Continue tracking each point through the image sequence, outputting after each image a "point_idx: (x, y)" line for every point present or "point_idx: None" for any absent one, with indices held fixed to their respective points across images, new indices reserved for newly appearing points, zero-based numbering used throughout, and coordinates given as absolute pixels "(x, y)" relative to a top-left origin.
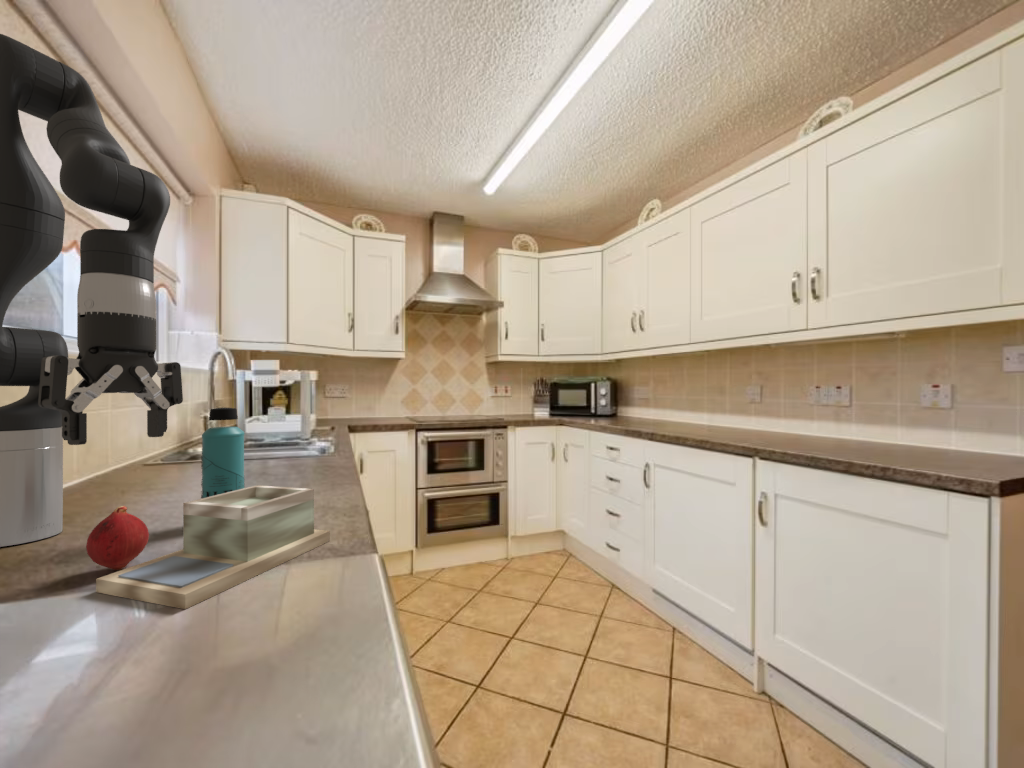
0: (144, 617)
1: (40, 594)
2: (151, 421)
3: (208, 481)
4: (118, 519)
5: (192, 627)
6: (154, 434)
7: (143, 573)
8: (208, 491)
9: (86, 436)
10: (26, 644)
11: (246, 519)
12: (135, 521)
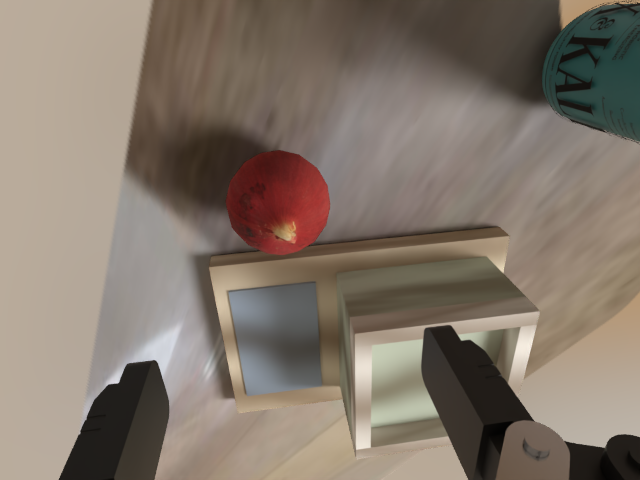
0: (206, 381)
1: (162, 181)
2: (451, 397)
3: (619, 90)
4: (270, 244)
5: (219, 434)
6: (426, 364)
7: (249, 316)
8: (594, 85)
9: (164, 432)
10: (110, 342)
11: (352, 440)
12: (297, 249)
